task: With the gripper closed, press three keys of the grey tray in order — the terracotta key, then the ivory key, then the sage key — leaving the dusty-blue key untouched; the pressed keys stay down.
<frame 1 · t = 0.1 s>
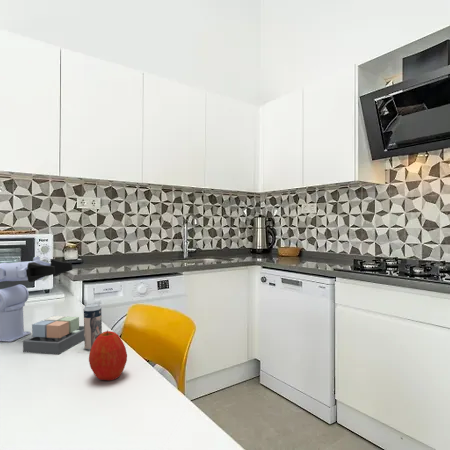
hand: (63, 268, 104), 22 cm above the table, tool horizontal, fingers open, 7 cm apart
key blue: (43, 328, 99), point 5 cm above the table, slide at 0.0 cm
key sage: (68, 324, 102), point 5 cm above the table, slide at 0.0 cm
apple: (108, 377, 79), on the table
beer can: (93, 348, 98), on the table
grey tray: (59, 343, 102), on the table
key terracotta: (57, 329, 98), point 5 cm above the table, slide at 0.0 cm
key ivory: (55, 323, 103), point 5 cm above the table, slide at 0.0 cm
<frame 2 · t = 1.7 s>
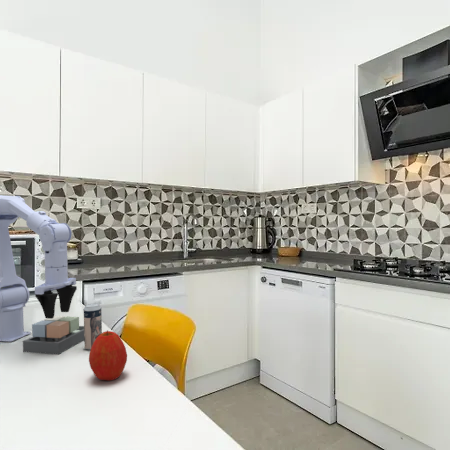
hand: (57, 314, 98), 9 cm above the table, tool pointing down, fingers open, 6 cm apart
nothing on the table moved.
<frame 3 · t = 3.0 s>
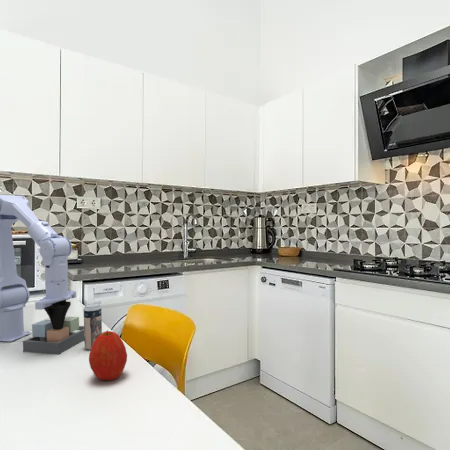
hand: (57, 328, 98), 5 cm above the table, tool pointing down, fingers closed, pressing on key terracotta
key terracotta: (58, 334, 98), point 4 cm above the table, slide at 1.5 cm, touching gripper
everything else where it was.
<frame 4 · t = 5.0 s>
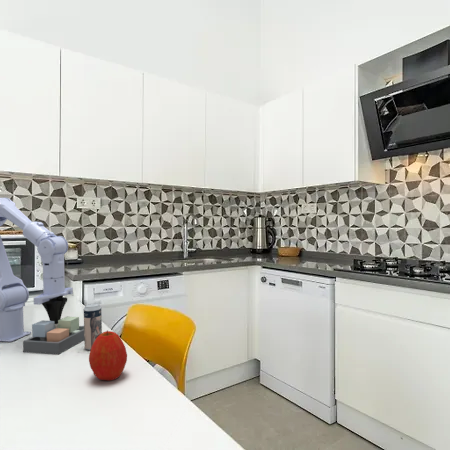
hand: (55, 323, 103), 5 cm above the table, tool pointing down, fingers closed, pressing on key ivory
key terracotta: (58, 336, 98), point 3 cm above the table, slide at 2.0 cm
key ivory: (55, 328, 103), point 4 cm above the table, slide at 1.5 cm, touching gripper
everything else where it was.
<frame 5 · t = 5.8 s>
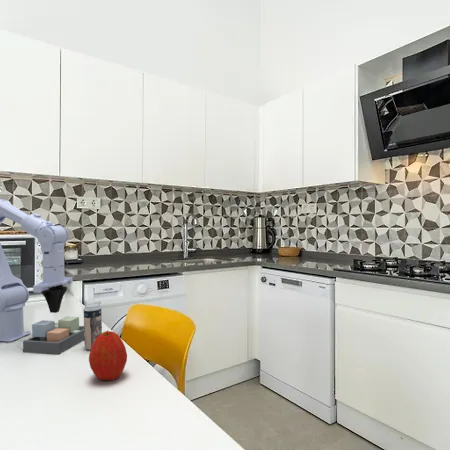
hand: (54, 312, 103), 9 cm above the table, tool pointing down, fingers closed
key ivory: (55, 330, 103), point 3 cm above the table, slide at 2.0 cm
everything else where it was.
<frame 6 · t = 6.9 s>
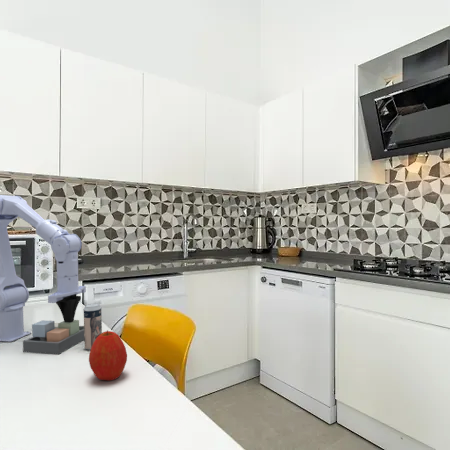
hand: (68, 321, 102), 6 cm above the table, tool pointing down, fingers closed, pressing on key sage
key sage: (68, 327, 102), point 4 cm above the table, slide at 0.9 cm, touching gripper
everything else where it was.
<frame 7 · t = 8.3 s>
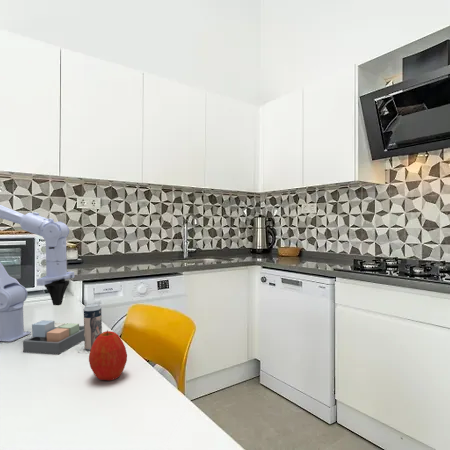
hand: (57, 304, 108), 10 cm above the table, tool pointing down, fingers closed
key sage: (69, 331, 103), point 3 cm above the table, slide at 2.0 cm
everything else where it was.
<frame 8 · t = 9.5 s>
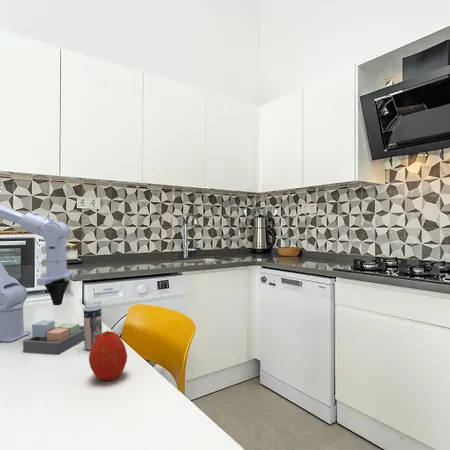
hand: (57, 304, 108), 10 cm above the table, tool pointing down, fingers closed
nothing on the table moved.
at the end: key terracotta slide at 2.0 cm; key sage slide at 2.0 cm; key blue slide at 0.0 cm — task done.
